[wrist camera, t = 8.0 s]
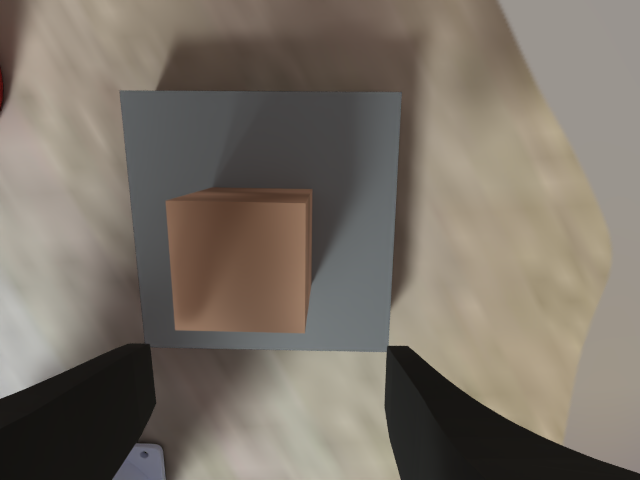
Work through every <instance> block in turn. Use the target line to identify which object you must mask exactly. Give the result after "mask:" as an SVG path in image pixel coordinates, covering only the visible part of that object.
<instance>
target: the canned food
mask: <svg viewBox="0 0 640 480" xmlns="http://www.w3.org/2000/svg"><path fill="white" fill-rule="evenodd" d="M2 99H3V81H2V74H1V68H0V108H1V104H2Z"/></svg>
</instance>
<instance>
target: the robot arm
mask: <svg viewBox="0 0 640 480" xmlns="http://www.w3.org/2000/svg"><path fill="white" fill-rule="evenodd" d="M155 405H156V397H155V387H154V378H153V369H152V360H151V350H150V344H127V345H124V346H121V347H119V348H116V349H114V350H111V351H109V352H107V353H105V354H102V355H100V356H98V357H96V358H94V359H91V360H89V361H87V362H85V363H83V364H81V365H78V366H76V367H74V368H72V369H70V370H68V371H65V372H63V373H61V374H59V375H56V376H54V377H52V378H50V379H47V380H45V381H43V382H40V383H38V384H36V385H33V386H31V387H29V388H26V389H24V390H22V391H19V392H17V393H14V394H12V395H9V396H6V397H4V398H1V399H0V480H166V477H165V467H164V457H163V450H162V448H161V446H159V445H157V444H140V443H136V442H137V441H138V439H139V438H140V436H141V434H142V432H143V430H144V428H145V426H146V424H147V422H148V420H149V418H150V416H151V414H152V412H153V409H154V407H155ZM385 412H386V419H387V426H388V432H389V438H390V442H391V446H392V449H393V453H394V456H395V460H396V464H397V467H398V471H399V474H400V478H401V480H640V474H639V473H636V472H633V471H630V470H627V469H624V468H621V467H618V466H615V465H612V464H609V463H606V462H603V461H600V460H597V459H594V458H592V457H589V456H586V455H584V454H581V453H579V452H576V451H574V450H571V449H569V448H567V447H564V446H562V445H559V444H557V443H555V442H553V441H550V440H548V439H546V438H544V437H541V436H539V435H537V434H535V433H533V432H531V431H529V430H527V429H525V428H523V427H521V426H519V425H517V424H515V423H513V422H512V421H510V420H508V419H506V418H504V417H502V416H501V415H499V414H497V413H496V412H494V411H492V410H491V409H489V408H487V407H486V406H484V405H482V404H481V403H479V402H478V401H476V400H475V399H473V398H472V397H470V396H469V395H468V394H466V393H465V392H463V391H462V390H461V389H459V388H458V387H456V386H455V385H454V384H453V383H451V382H450V381H449V380H447V379H446V378H445V377H444V376H442V375H441V374H440V373H439V372H437V371H436V370H435V369H434V368H433V367H432V366H430V365H429V364H428V363H427V362H426V361H425V360H423V359H422V358H421V357H420V356H419V355H418V354H417V353H415V352H414V351H413V350H412V349H411V348H409V347H408V346H387V358H386V383H385ZM144 451H145V452H147V453H148V454H147V453H145V452H144Z"/></svg>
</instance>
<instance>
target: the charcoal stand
mask: <svg viewBox="0 0 640 480" xmlns="http://www.w3.org/2000/svg"><path fill="white" fill-rule="evenodd" d="M401 97H402V92H300V91H120V101H121V110H122V120H123V130H124V140H125V150H126V160H127V170H128V180H129V190H130V200H131V210H132V220H133V230H134V239H135V249H136V259H137V269H138V279H139V289H140V299H141V309H142V319H143V329H144V339H145V344H150V347H156V348H207V349H257V350H308V351H359V352H387V346H388V344H389V325H390V306H391V287H392V268H393V249H394V230H395V211H396V192H397V173H398V154H399V135H400V116H401ZM212 187H220V188H279V189H312V279H311V292H310V299H309V307H308V314H307V321H306V329H305V333H267V332H226V331H185V330H175V321H174V308H173V294H172V281H171V267H170V254H169V241H168V227H167V214H166V200H170V199H173V198H177V197H180V196H184V195H187V194H191V193H194V192H198V191H201V190H205V189H208V188H212Z"/></svg>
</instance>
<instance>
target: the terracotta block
mask: <svg viewBox="0 0 640 480" xmlns="http://www.w3.org/2000/svg"><path fill="white" fill-rule="evenodd" d="M166 214H167V227H168V241H169V254H170V267H171V281H172V294H173V308H174V321H175V330H185V331H226V332H267V333H305V329H306V321H307V314H308V307H309V299H310V292H311V279H312V189H279V188H220V187H212V188H208V189H205V190H201V191H198V192H194V193H191V194H187V195H184V196H180V197H177V198H173V199H170V200H166Z"/></svg>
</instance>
